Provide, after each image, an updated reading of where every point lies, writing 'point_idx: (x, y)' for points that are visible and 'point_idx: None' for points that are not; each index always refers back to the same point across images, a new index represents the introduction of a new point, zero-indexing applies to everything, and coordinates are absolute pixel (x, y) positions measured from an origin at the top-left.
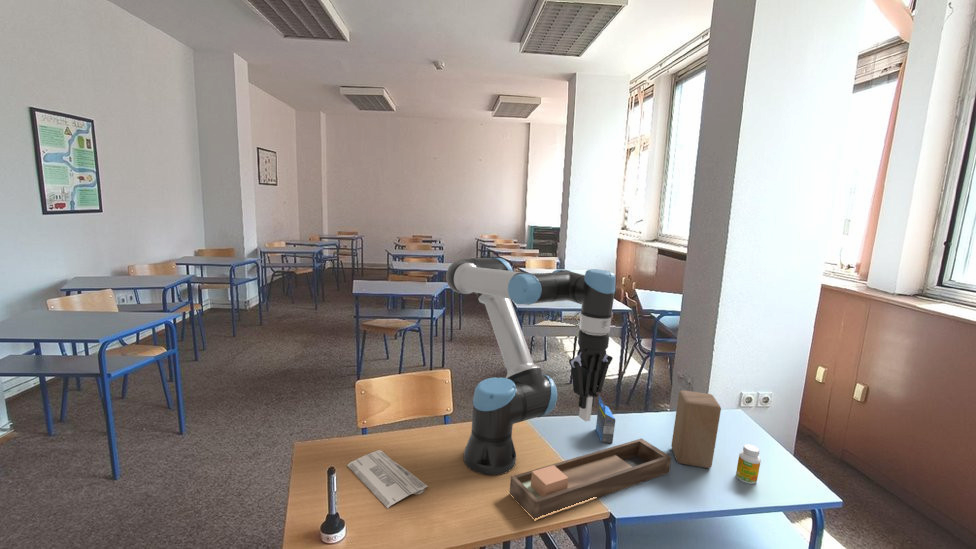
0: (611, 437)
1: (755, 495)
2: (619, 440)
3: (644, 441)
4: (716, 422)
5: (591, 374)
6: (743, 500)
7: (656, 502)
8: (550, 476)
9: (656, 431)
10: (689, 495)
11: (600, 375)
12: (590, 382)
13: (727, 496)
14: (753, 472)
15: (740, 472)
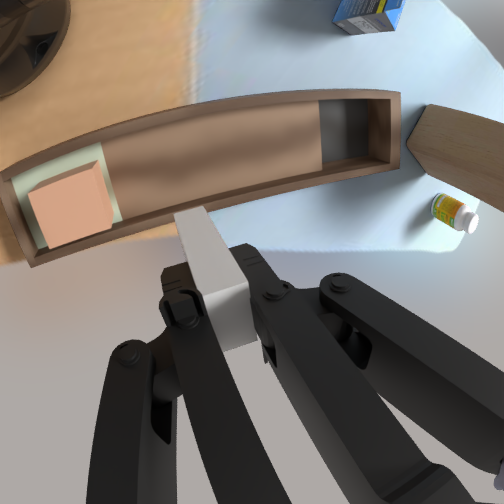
0: (357, 32)
1: (418, 235)
2: (370, 36)
3: (397, 103)
4: (490, 204)
5: (338, 464)
6: (401, 241)
7: (296, 226)
8: (67, 218)
9: (437, 55)
10: (356, 219)
11: (412, 404)
12: (297, 395)
13: (394, 231)
14: (445, 223)
15: (439, 209)
